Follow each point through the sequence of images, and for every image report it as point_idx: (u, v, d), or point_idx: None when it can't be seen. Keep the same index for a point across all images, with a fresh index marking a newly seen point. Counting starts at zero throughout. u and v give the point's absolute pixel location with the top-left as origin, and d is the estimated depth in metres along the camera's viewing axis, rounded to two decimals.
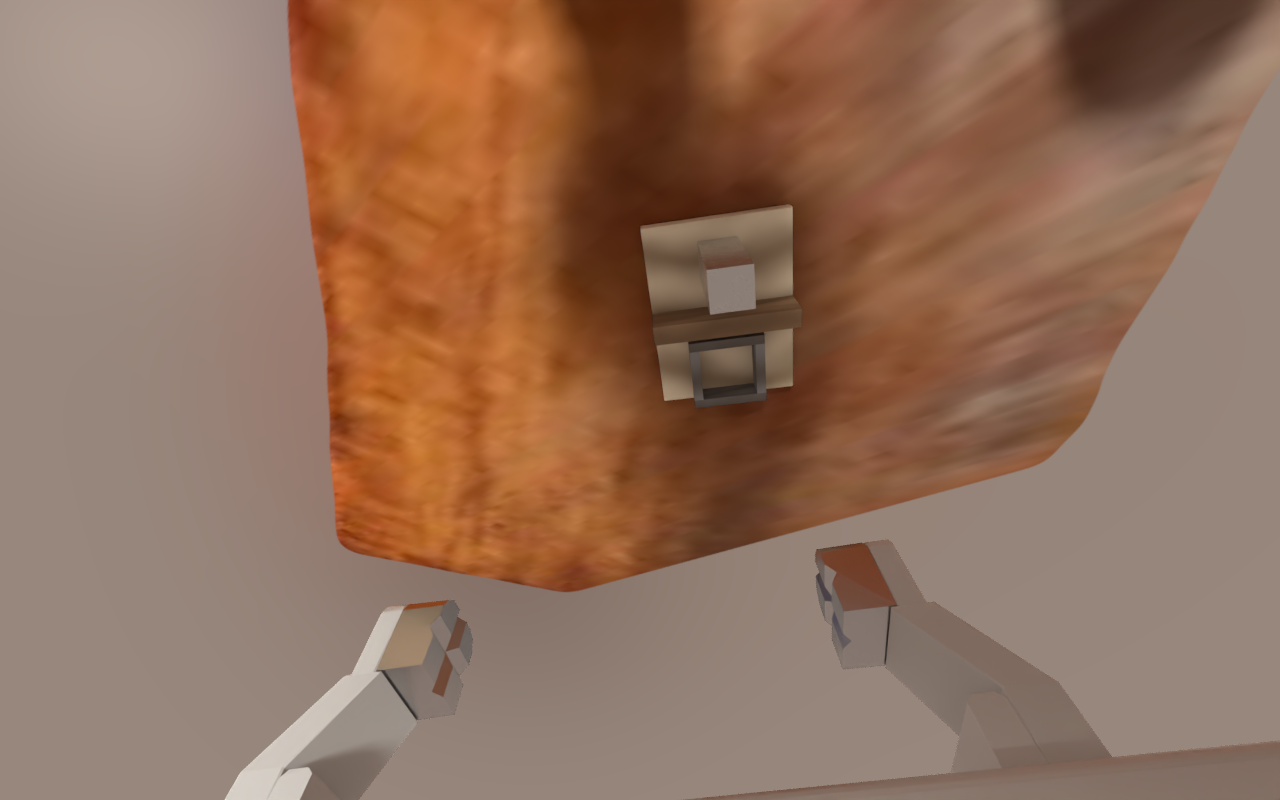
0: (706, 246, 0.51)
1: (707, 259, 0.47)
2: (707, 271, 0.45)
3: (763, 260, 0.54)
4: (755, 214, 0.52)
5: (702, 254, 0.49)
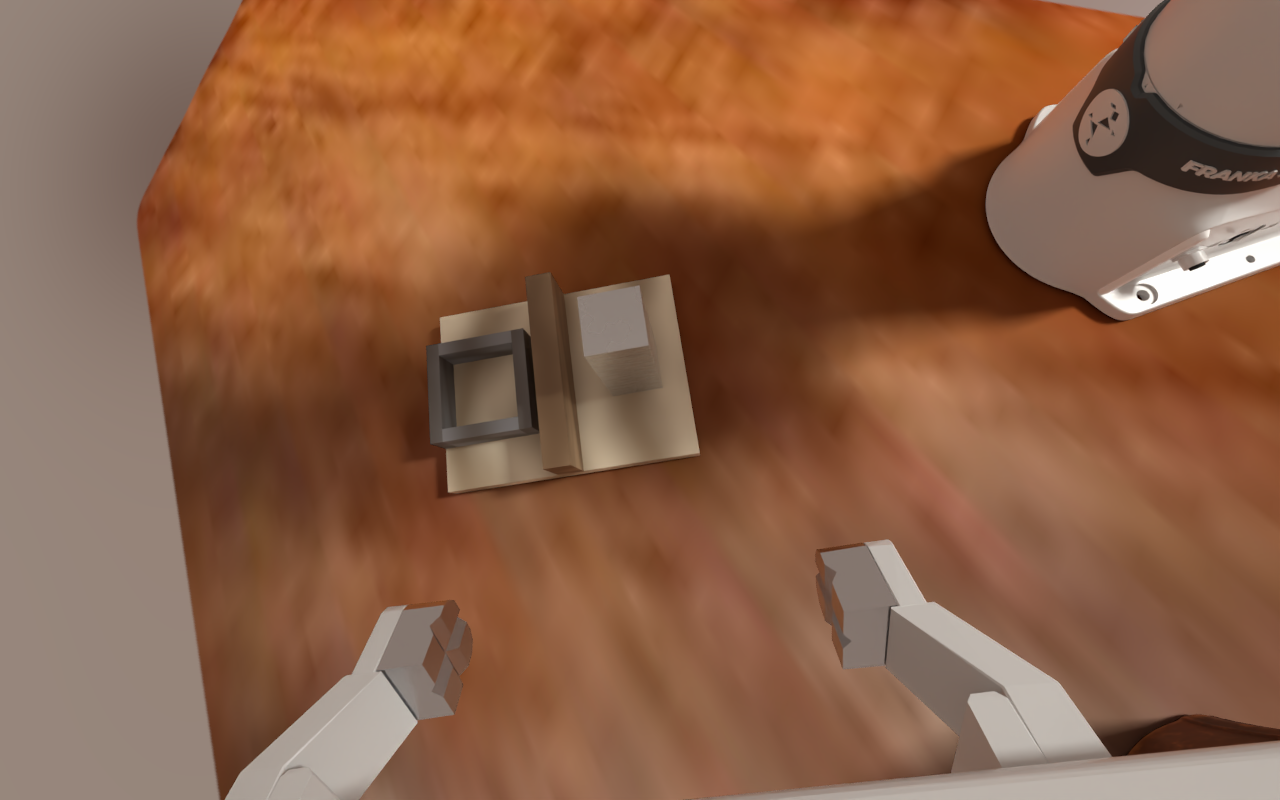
0: (653, 338, 0.40)
1: (646, 311, 0.36)
2: (637, 287, 0.33)
3: (631, 425, 0.41)
4: (689, 407, 0.41)
5: (648, 317, 0.38)
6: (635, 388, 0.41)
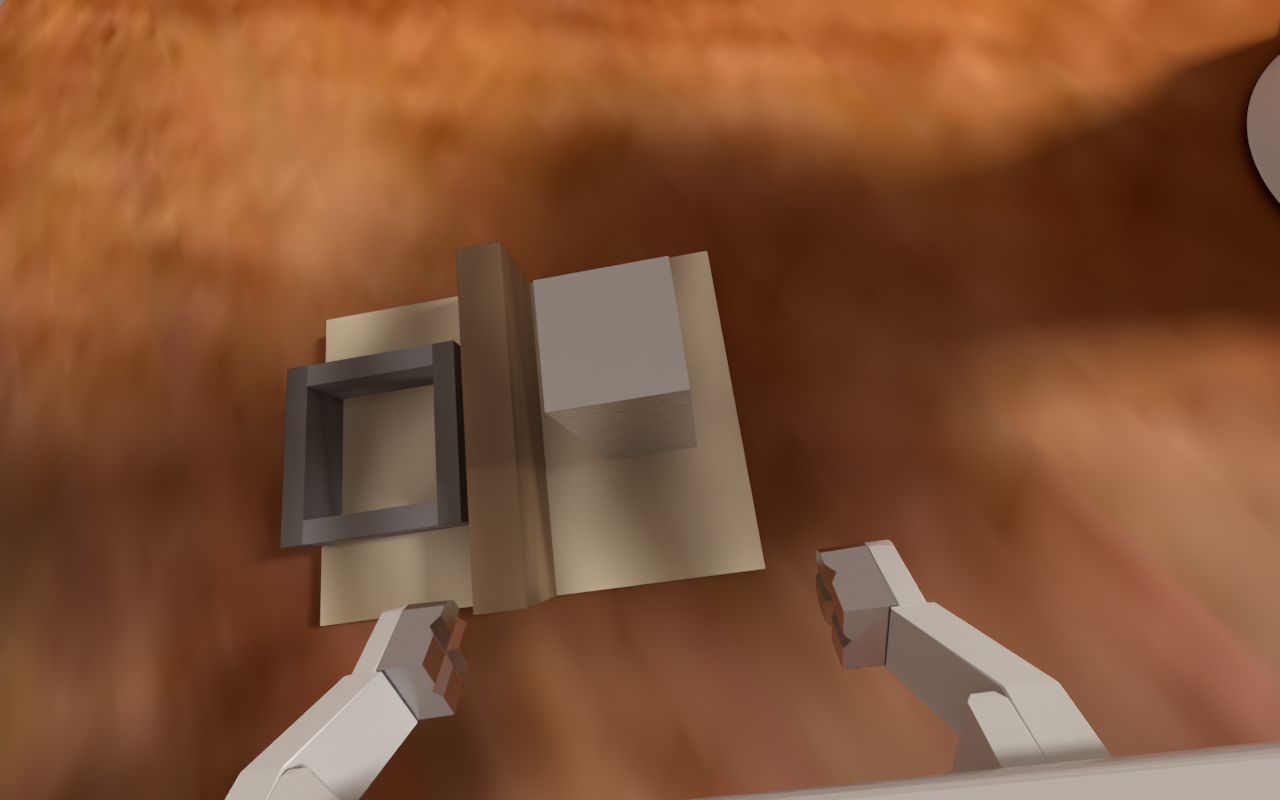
0: None
1: None
2: (664, 259, 0.15)
3: (641, 513, 0.23)
4: (745, 483, 0.23)
5: None
6: (650, 449, 0.23)
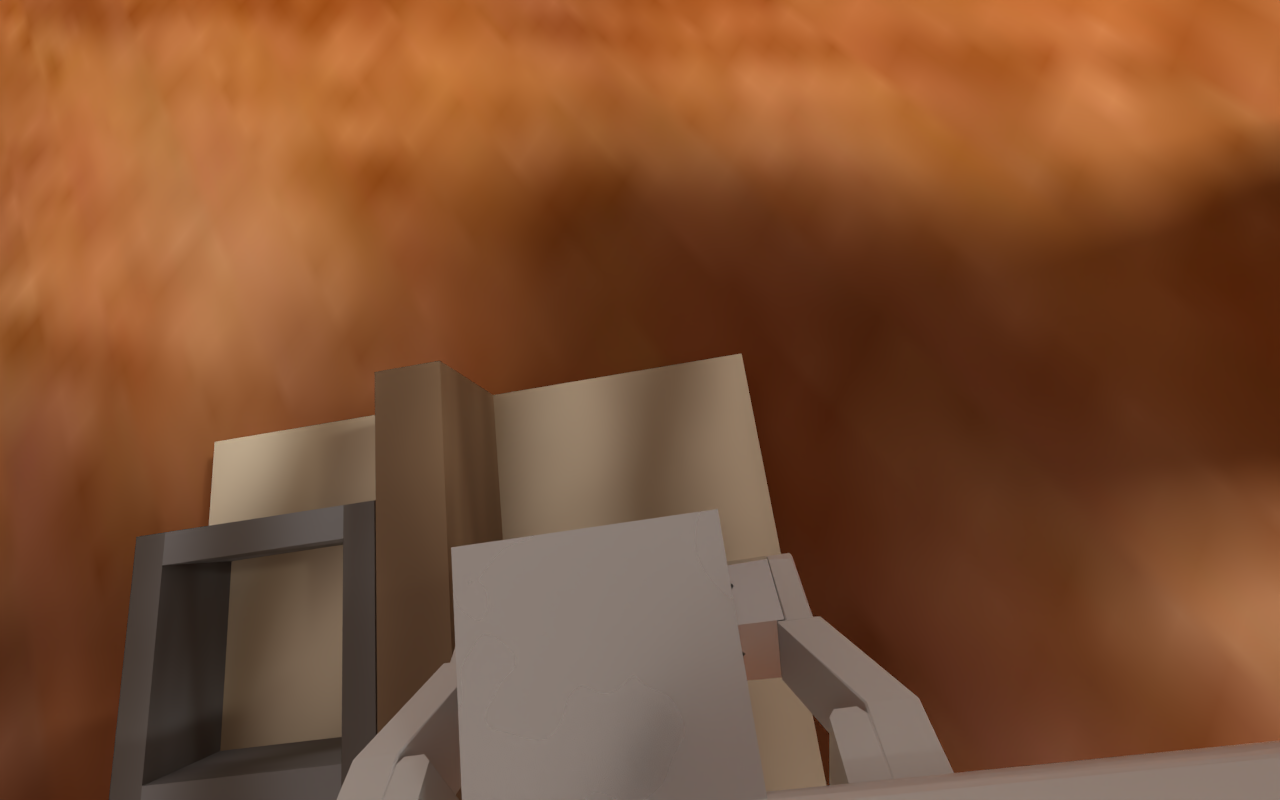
0: None
1: None
2: (709, 516, 0.08)
3: None
4: (806, 717, 0.16)
5: None
6: None
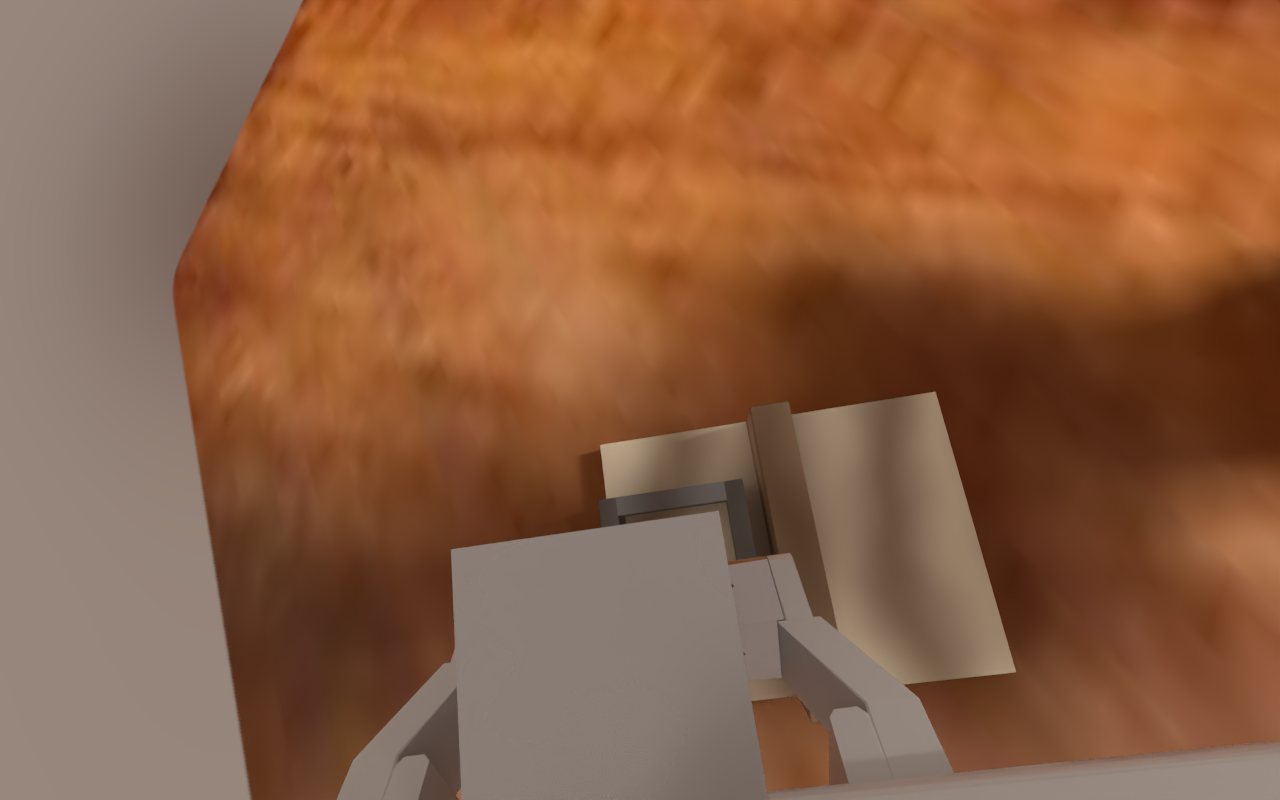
0: None
1: None
2: (710, 518, 0.08)
3: (903, 622, 0.28)
4: (991, 598, 0.28)
5: None
6: None
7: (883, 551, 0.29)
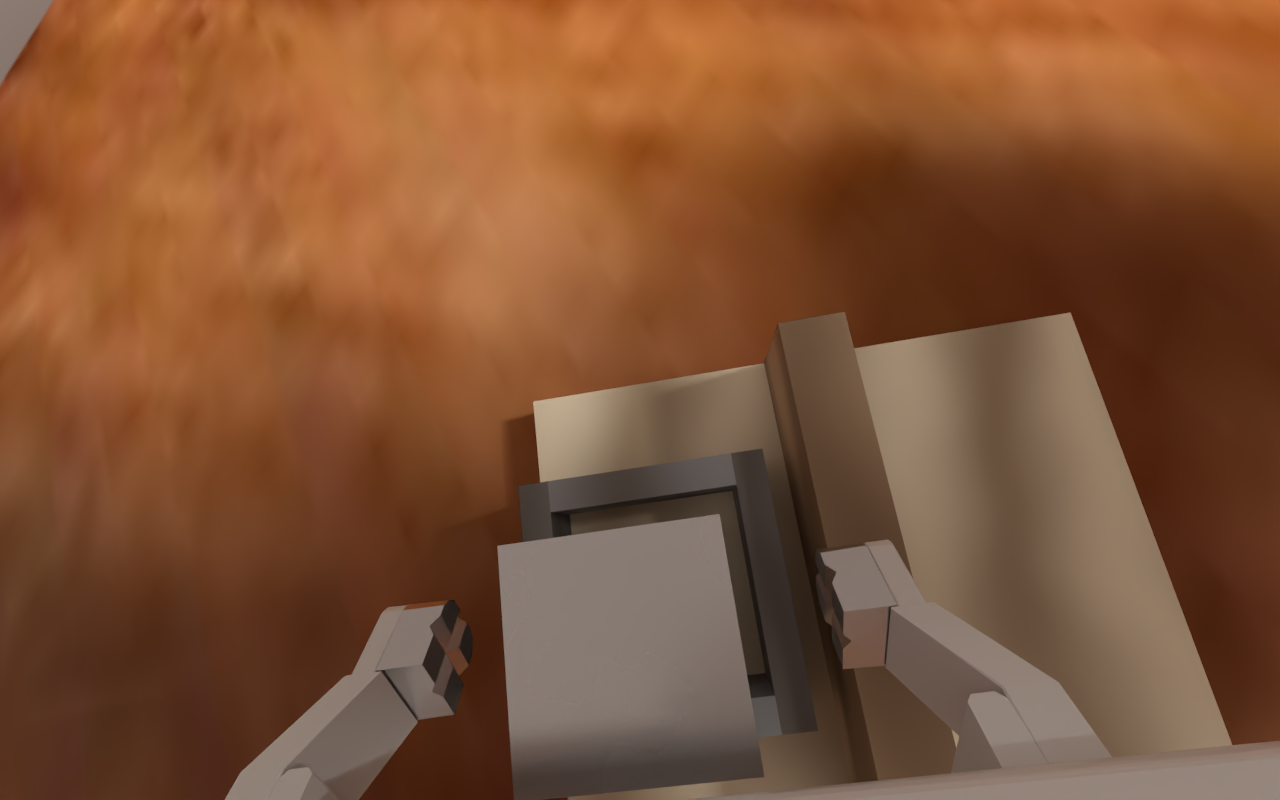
0: None
1: None
2: (712, 519, 0.09)
3: None
4: (1192, 655, 0.16)
5: None
6: None
7: (997, 572, 0.17)
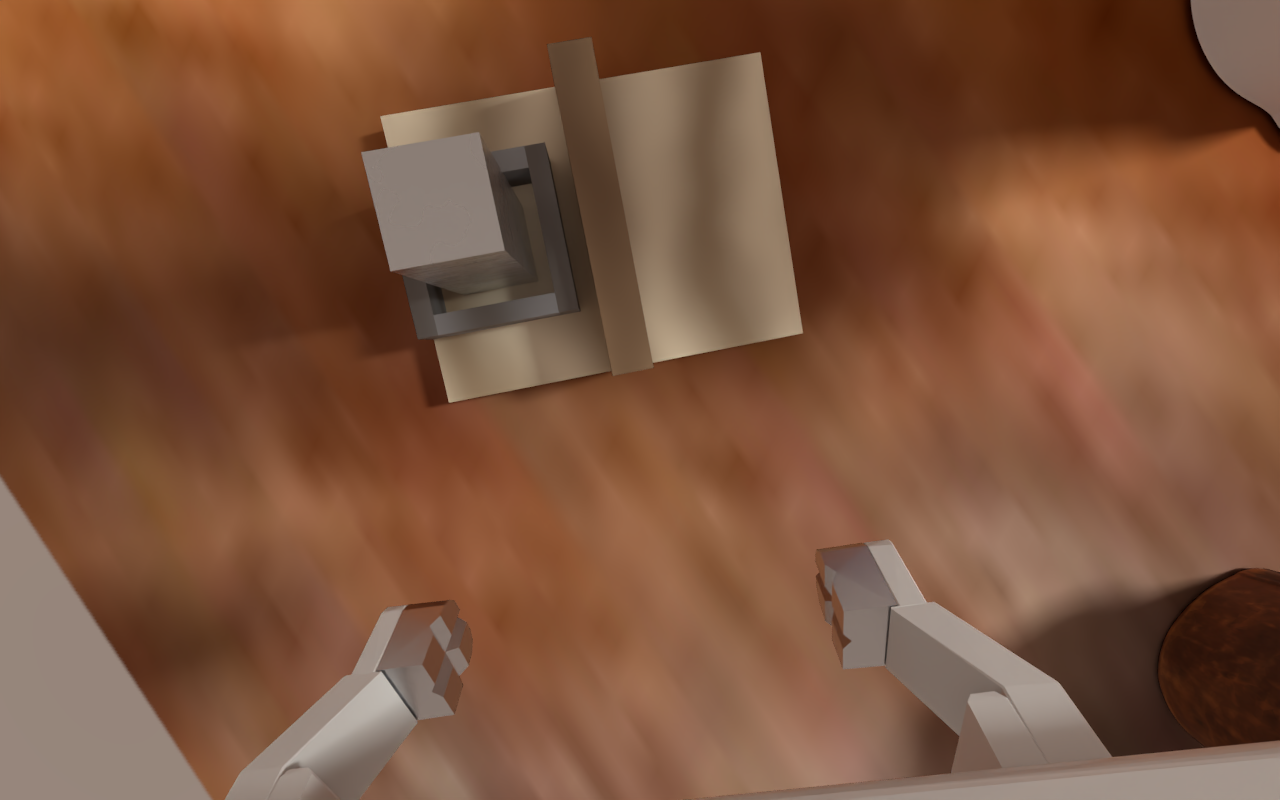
0: (518, 208, 0.26)
1: (499, 172, 0.21)
2: (476, 135, 0.18)
3: (710, 297, 0.29)
4: (790, 269, 0.29)
5: (505, 179, 0.23)
6: (496, 286, 0.27)
7: (695, 229, 0.29)
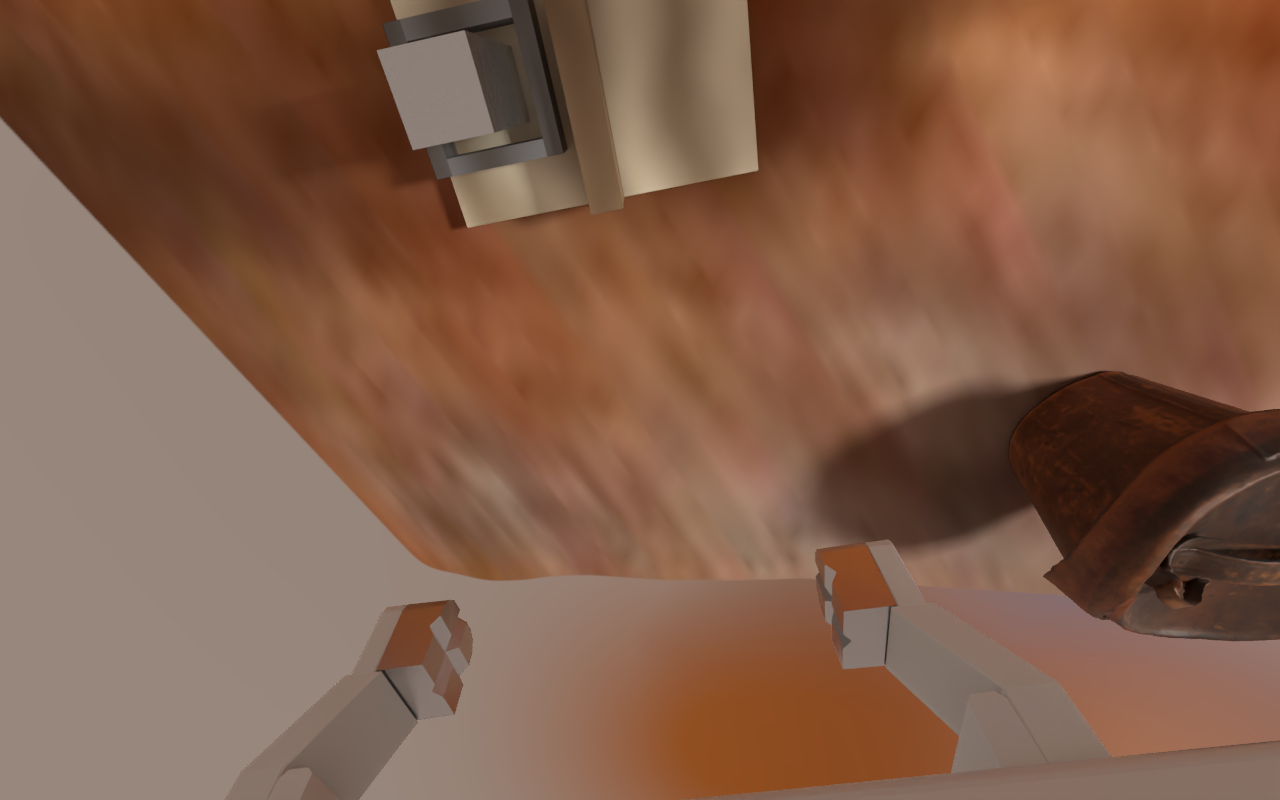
0: (506, 58, 0.30)
1: (485, 46, 0.26)
2: (462, 33, 0.23)
3: (678, 136, 0.34)
4: (751, 109, 0.33)
5: (492, 41, 0.27)
6: None
7: (667, 69, 0.32)
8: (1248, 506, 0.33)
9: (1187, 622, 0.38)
